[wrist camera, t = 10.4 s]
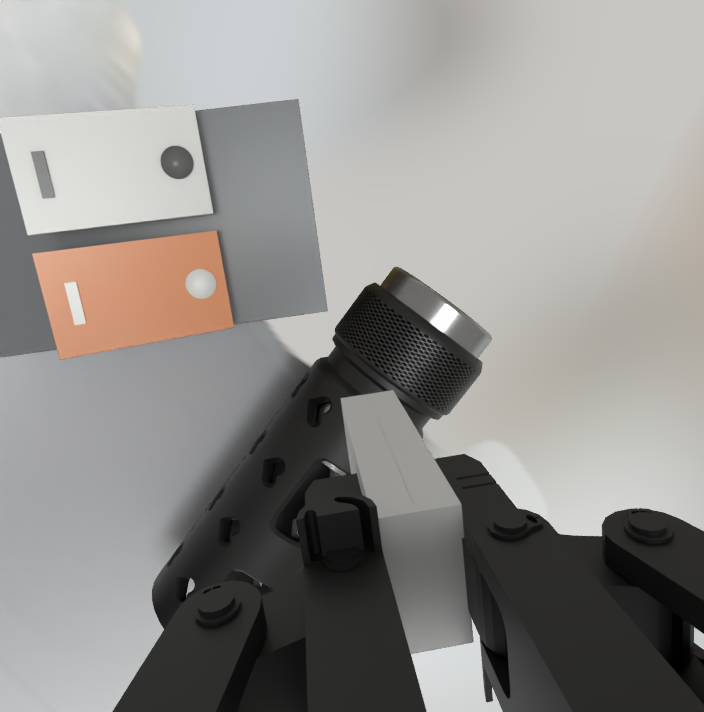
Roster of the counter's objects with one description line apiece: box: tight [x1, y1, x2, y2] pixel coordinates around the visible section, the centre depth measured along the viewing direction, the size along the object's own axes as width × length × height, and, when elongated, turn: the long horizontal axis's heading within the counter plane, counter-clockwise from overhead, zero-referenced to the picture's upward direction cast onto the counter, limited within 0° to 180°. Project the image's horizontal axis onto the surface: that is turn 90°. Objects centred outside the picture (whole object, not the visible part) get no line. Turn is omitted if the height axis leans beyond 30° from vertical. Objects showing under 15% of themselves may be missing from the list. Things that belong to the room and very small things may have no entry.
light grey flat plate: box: [0, 105, 213, 236], centre depth 31 cm, size 10×6×1 cm, turn 97°
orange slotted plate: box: [32, 230, 234, 360], centre depth 33 cm, size 10×6×1 cm, turn 97°
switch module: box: [0, 99, 328, 357], centre depth 36 cm, size 28×13×6 cm, turn 97°
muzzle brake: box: [152, 267, 492, 629], centre depth 39 cm, size 10×28×10 cm, turn 143°
